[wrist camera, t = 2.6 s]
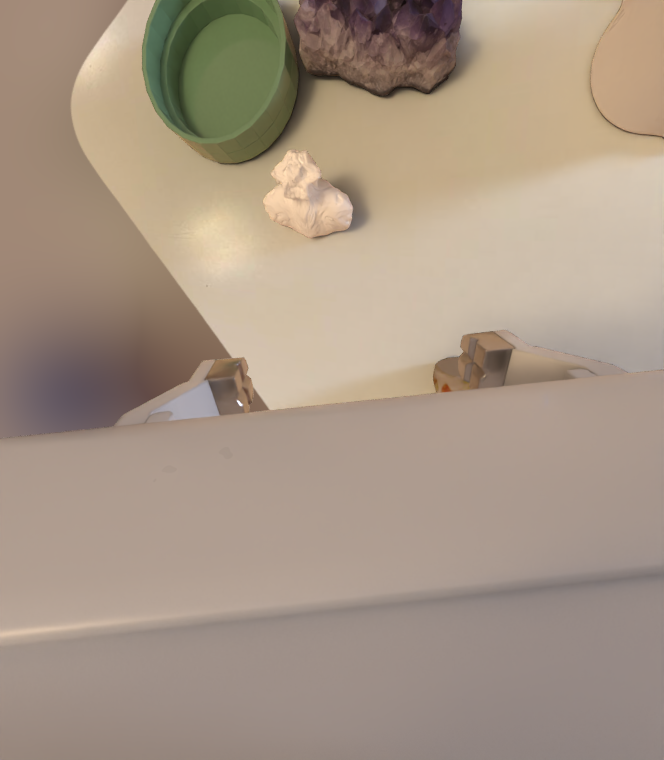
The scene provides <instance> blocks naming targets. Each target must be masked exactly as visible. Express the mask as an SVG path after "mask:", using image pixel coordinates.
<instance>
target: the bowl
mask: <svg viewBox="0 0 664 760" xmlns="http://www.w3.org/2000/svg"><path fill="white" fill-rule="evenodd" d="M142 71H143V75H144V80H145V85H146V90H147V93H148V95H149V97H150V100H151V102H152V104H153V107H154V109H155V111H156V112H157V114H158V115H159V116H160V118H161V119H162V120H163V122H164V123H165V124H166V125H167V127H168V128H170V129H171V130H172V131H173V132H174V133H175V134H176V135H178V136H179V137H180V138H181V139H182V140H183V141H184V142H185V143H187V144H188V145H189V146H190V147H191V148H192V149H194V150H195V151H196V152H198V153H199V154H200V155H202V156H203V157H205V158H207V159H210V160H213V161H215V162H218V163H239V162H242V161H246V160H249V159H252V158H254V157H255V156H257V155H258V154H260V153H261V152H263V151H265V150H266V149H267V148H268V147H269V146H270V145H271V144H272V143H273V142H274V141H275V140H276V139H277V138H278V136H279V135H280V134H281V132H282V131H283V129H284V127H285V125H286V124H287V122H288V120H289V118H290V116H291V113H292V110H293V107H294V103H295V100H296V97H297V88H298V75H299V71H298V64H297V56H296V50H295V47H294V44H293V42H292V39H291V36H290V33H289V30H288V28H287V25H286V22H285V19H284V16H283V14H282V11H281V9H280V6H279V4H278V1H277V0H156V1H155V3H154V6H153V8H152V11H151V13H150V16H149V18H148V21H147V24H146V29H145V34H144V39H143V45H142Z"/></svg>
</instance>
